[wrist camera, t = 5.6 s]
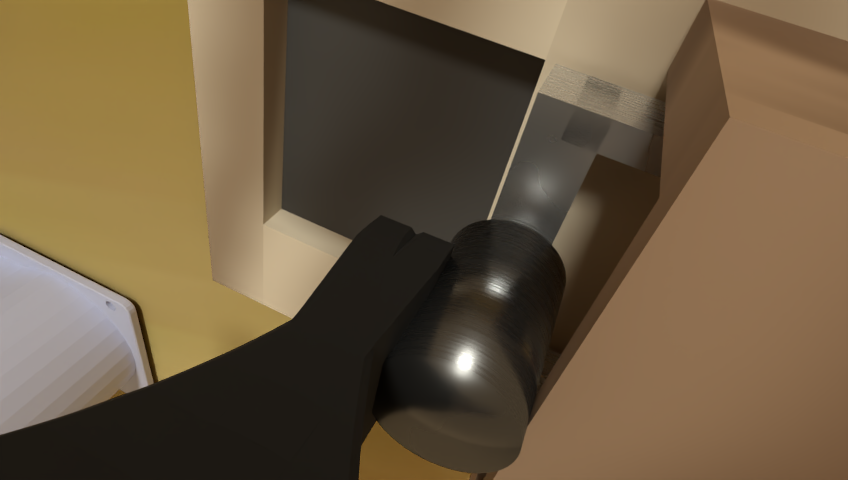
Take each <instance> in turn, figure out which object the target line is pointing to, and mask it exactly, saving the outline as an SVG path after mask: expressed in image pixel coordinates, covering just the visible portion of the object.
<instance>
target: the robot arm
mask: <svg viewBox="0 0 848 480" xmlns="http://www.w3.org/2000/svg"><path fill="white" fill-rule="evenodd" d="M454 245H455V244H452V243H450V242H447V241H445V240H442V239H440V238H437V237H435V236H432V235H430V234H427V233H425V232H422V233H419V234H415V232H414V230H413V228H412V227H410V226H407V225H405V224H402V223H400V222H397V221H395V220H392V219H390V218H387V217H385V216H382V215H380V216H379V217H378V218H376V219H375V220H374V221H372V222H371V223H370V224H368V225H367V226H366V227H365V228H364V229H363V230H362V231H361V232H359V233H358V234H357V235H356V237H355V238H354V239H353V240H352V242H351V243H350V244H349V246H348V247H347V248H346V249H345V251H344V252H343V253H342V255H341V256H340V257H339V259H338V260H337V261H336V263H335V264H334V265H333V267H332V268H331V269H330V271H329V272H328V273H327V275H326V276H325V277H324V279H323V280H322V281H321V283H320V284H319V285H318V287H317V288H316V289H315V290H314V292H313V293H312V294H311V296H310V297H309V298H308V300H307V301H306V302H305V304H304V305H303V306H302V308H301V309H300V310H299V312H298V313H297V314H296V315H295V316H294V317H293V319H292V320H290V321H288V322H286V323H285V324H283V325H281V326H279V327H277V328H275V329H273V330H271V331H270V332H268V333H266V334H264V335H262V336H260V337H258V338H256V339H254V340H252V341H250V342H248V343H246V344H244V345H242V346H239V347H237V348H235V349H233V350H231V351H229V352H227V353H225V354H222V355H220V356H218V357H215V358H213V359H211V360H209V361H206V362H204V363H202V364H200V365H197V366H195V367H193V368H190V369H188V370H186V371H184V372H181V373H179V374H176V375H174V376H171V377H169V378H166V379H164V380H161V381H159V382H156V383H154V382H153V378H152V374H151V370H150V366H149V361H148V357H147V353H146V349H145V345H144V341H143V337H142V332H141V328H140V324H139V320H138V316H137V312H136V308H135V306H134V305H133V303H132V302H130V301H129V300H128V299H126V298H125V297H123V296H121V295H119V294H117V293H115V292H113V291H111V290H109V289H107V288H105V287H103V286H101V285H99V284H97V283H95V282H93V281H91V280H89V279H87V278H85V277H83V276H81V275H79V274H77V273H75V272H73V271H71V270H69V269H67V268H65V267H63V266H61V265H59V264H57V263H55V262H53V261H51V260H50V259H48V258H46V257H44V256H42V255H40V254H38V253H36V252H34V251H32V250H30V249H28V248H26V247H24V246H22V245H20V244H18V243H16V242H14V241H12V240H10V239H8V238H6V237H4V236H2V235H0V480H358V478H359V464H360V451H361V445H362V443H363V442H364V440H365V438H366V437H367V435H368V433H369V432H370V430H371V428H372V427H373V425H374V424H375V422H376V419H375V417H374V416H373V414H372V408H373V404H374V400H375V395H376V391H377V387H378V383H379V379H380V375H381V370H382V366H383V363H384V362H385V360H386V359H387V357H388V356H389V354H390V353H391V351H392V350H393V348H394V347H395V345H396V344H397V342H398V341H399V339H400V338H401V336H402V335H403V333H404V332H405V330H406V329H407V327H408V326H409V324H410V323H411V321H412V320H413V318H414V317H415V315H416V314H417V312H418V311H419V309H420V308H421V306H422V305H423V303H424V302H425V300H426V299H427V297H428V296H429V294H430V293H431V291H432V290H433V288H434V286H435V284H436V282H437V281H438V279H439V277H440V275H441V273H442V271H443V270H444V268H445V266H446V264H447V262H448V260H449V259H450V257H451V254H452V251H453V248H454ZM119 389H120V390H121V391H123V392H125V393H126V394H123V395H121V396H118V397H115V398H112V399H110V398H111V397H112V396H113V395H114V394H115V393H116V392H117V391H118V390H119Z"/></svg>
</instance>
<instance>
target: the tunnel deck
mask: <svg viewBox="0 0 848 480" xmlns="http://www.w3.org/2000/svg"><path fill="white" fill-rule="evenodd" d="M188 10H189V21H190V32H191V44H192V55H193V66H194V77H195V88H196V99H197V110H198V121H199V133H200V144H201V155H202V166H203V177H204V188H205V199H206V210H207V222H208V233H209V244H210V255H211V266H212V277H213V280H214V281H216V282H218V283H220V284H222V285H224V286H226V287H228V288H230V289H232V290H234V291H236V292H238V293H240V294H243V295H245V296H247V297H249V298H251V299H253V300H255V301H257V302H259V303H261V304H263V305H265V306H267V307H270V308H272V309H274V310H276V311H278V312H280V313H282V314H284V315H286V316H288V317H290V318H292V319H293V317H294V316H295V315H296V314H297V313H298V312H299V310H300V309H301V308H302V306H303V305H304V304H305V302H306V301H307V300H308V298H309V297H310V296H311V294H312V293H313V292H314V290H315V289H316V288H317V287H318V285H319V284H320V283H321V281H322V280H323V279H324V277H325V276H326V275H327V273H328V272H329V271H330V269H331V268H332V267H333V265H334V264H335V263H336V261H337V260H338V259H339V257H340V256H341V255H342V253H343V252H344V251H345V249H346V248H347V247H348V246H349V244H350V243H351V242H352V240H353V239H354V238H355V237H356V235H357V234H358V233H359V232H361V231H362V230H363V229H364V228H365V227H366V226H367V225H368V224H370V223H371V222H372V221H374V220H375V219H376V218H378V217H379V216H380V215H382V216H385V217H387V218H390V219H392V220H395V221H397V222H400V223H402V224H405V225H407V226H410V227H412V228H413V230H414V232H415V234H419V233H422V232H425V233H427V234H430V235H432V236H435V237H437V238H440V239H442V240H445V241H447V242H451V240H452V239H453V237H454V236H455V235H456V234H457V233H458V232H459V231H460V230H461V229H463V228H464V227H466V226H468V225H469V224H472V223H475V222H478V221H482V220H490V219H491V217H492V214H493V212H494V209H495V206H496V204H497V201H498V198H499V196H500V193H501V190H502V188H503V185H504V182H505V180H506V177H507V174H508V172H509V169H510V166H511V163H512V161H513V158H514V155H515V153H516V150H517V147H518V145H519V142H520V139H521V137H522V134H523V131H524V129H525V126H526V123H527V121H528V118H529V115H530V112H531V110H532V107H533V104H534V102H535V99H536V96H537V94H538V91H539V90H540V88H541V87H542V85H543V83H544V82H545V80H546V79H547V77H548V75H549V74H550V72H551V71H552V69H553V67H554V66H555V64H559V65H562V66H564V67H567V68H570V69H573V70H576V71H579V72H581V73H584V74H587V75H590V76H593V77H596V78H598V79H601V80H604V81H607V82H610V83H613V84H615V85H618V86H621V87H624V88H627V89H630V90H632V91H635V92H638V93H641V94H644V95H647V96H649V97H652V98H655V99H658V100H661V101H664V102H666V105H665V120H664V135H663V150H662V166H661V178H660V177H658V176H655V175H652V174H650V173H647V172H645V171H642V170H639V169H637V168H634V167H631V166H629V165H626V164H623V163H621V162H618V161H615V160H613V159H610V158H608V157H605V156H602V155H600V154H596V156H595V158H594V160H593V162H592V164H591V166H590V168H589V170H588V172H587V174H586V176H585V178H584V181H583V183H582V185H581V187H580V189H579V191H578V193H577V195H576V197H575V199H574V201H573V203H572V205H571V207H570V209H569V211H568V213H567V215H566V217H565V219H564V221H563V223H562V225H561V227H560V229H559V231H558V233H557V235H556V237H555V239H554V241H553V243H552V246H553V247H554V248H555V249H556V251H557V252H558V254H559V255H560V257H561V259H562V261H563V264H564V267H565V271H566V286H565V290H564V294H563V298H562V301H561V305H560V309H559V312H558V316H557V320H556V323H555V327H554V331H553V334H552V338H551V342H550V345H549V348H550V349H552V350H554V351H557V352H559V353H561V356H560V357H559V359H558V361H557V362H556V364H555V365H554V367H553V369H552V370H551V372H550V373H549V375H548V377H547V378H546V380H545V381H544V383H543V385H542V386H541V388H540V389H539V391H538V393H537V394H536V396H535V400H534V404H533V407H532V411H531V415H530V418H529V422H528V426H527V430H526V433H525V437H524V441H523V444H522V448H521V452H520V454H519V456H518V458H517V459H516V460H515V461H514V462H513V463H512V464H511V465H510V466H508V467H506V468H504V469H502V470H499V471H496V472H490V473H471V476H470V479H469V480H848V0H188Z"/></svg>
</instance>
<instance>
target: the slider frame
mask: <svg viewBox="0 0 848 480" xmlns="http://www.w3.org/2000/svg"><path fill="white" fill-rule="evenodd" d="M665 105H666V102H664V101H661V100H658V99H655V98H652V97H649V96H647V95H644V94H641V93H638V92H635V91H632V90H630V89H627V88H624V87H621V86H618V85H615V84H613V83H610V82H607V81H604V80H601V79H598V78H596V77H593V76H590V75H587V74H584V73H581V72H579V71H576V70H573V69H570V68H567V67H564V66H562V65H559V64H555V66H554V67H553V69H552V71H551V72H550V74H549V75H548V77H547V79H546V80H545V82H544V83H543V85H542V87H541V88H540V90H539V91H538V94H537V96H536V99H535V102H534V104H533V107H532V110H531V112H530V115H529V118H528V121H527V123H526V126H525V129H524V131H523V134H522V137H521V139H520V142H519V145H518V147H517V150H516V153H515V155H514V158H513V161H512V163H511V166H510V169H509V172H508V174H507V177H506V180H505V182H504V185H503V188H502V190H501V193H500V196H499V198H498V201H497V204H496V206H495V209H494V212H493V214H492V217H491V219H490V220H482V221H478V222H475V223H472V224H469V225H468V226H466V227H464V228H463V229H461V230H460V231H459V232H458V233H457V234H456V235H455V236H454V237H453V239H452V240H451V242H450V243H452V244H455V245H454V248H453V251H452V254H451V257H450V259H449V260H448V262H447V264H446V266H445V268H444V270H443V271H442V273H441V275H440V277H439V279H438V281H437V282H436V284H435V286H434V288H433V290H432V291H431V293H430V294H429V296H428V297H427V299H426V300H425V302H424V303H423V305H422V306H421V308H420V309H419V311H418V312H417V314H416V315H415V317H414V318H413V320H412V321H411V323H410V324H409V326H408V327H407V329H406V330H405V332H404V333H403V335H402V336H401V338H400V339H399V341H398V342H397V344H396V345H395V347H394V348H393V350H392V351H391V353H390V354H389V356H388V357H387V359H386V360H385V362H384V363H383V366H382V370H381V375H380V379H379V383H378V387H377V391H376V395H375V400H374V404H373V408H372V414H373V416H374V417H375V419H376V420H377V421H378V423H379V424H380V425H381V426H382V428H383V429H384V430H385V431H386V432H387V433H388V434H389V435H390V436H391V437H392V438H393V439H395V440H396V441H397V442H398V443H399V444H401V445H402V446H404V447H405V448H406V449H408V450H409V451H411V452H413V453H414V454H416V455H418V456H420V457H421V458H423V459H425V460H427V461H430V462H432V463H434V464H437V465H439V466H442V467H445V468H448V469H452V470H456V471H461V472H467V473H490V472H496V471H499V470H502V469H504V468H506V467H508V466H510V465H511V464H512V463H513V462H514V461H515V460H516V459H517V458H518V456H519V454H520V452H521V448H522V444H523V441H524V437H525V433H526V430H527V426H528V422H529V418H530V415H531V411H532V407H533V404H534V400H535V396H536V394H537V393H538V391H539V389H540V388H541V386H542V385H543V383H544V381H545V380H546V378H547V377H548V375H549V373H550V372H551V370H552V369H553V367H554V365H555V364H556V362H557V361H558V359H559V357H560V356H561V353H559V352H557V351H554V350H552V349H550V348H549V345H550V342H551V338H552V334H553V331H554V327H555V323H556V320H557V316H558V312H559V309H560V305H561V301H562V298H563V294H564V290H565V286H566V271H565V267H564V264H563V261H562V259H561V257H560V255H559V254H558V252H557V251H556V249H555V248H554V247H553V246H552V243H553V241H554V239H555V237H556V235H557V233H558V231H559V229H560V227H561V225H562V223H563V221H564V219H565V217H566V215H567V213H568V211H569V209H570V207H571V205H572V203H573V201H574V199H575V197H576V195H577V193H578V191H579V189H580V187H581V185H582V183H583V181H584V178H585V176H586V174H587V172H588V170H589V168H590V166H591V164H592V162H593V160H594V158H595V156H596V154H600V155H602V156H605V157H608V158H610V159H613V160H615V161H618V162H621V163H623V164H626V165H629V166H631V167H634V168H637V169H639V170H642V171H645V172H647V173H650V174H652V175H655V176H658V177H660V178H661V166H662V150H663V135H664V120H665Z"/></svg>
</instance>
